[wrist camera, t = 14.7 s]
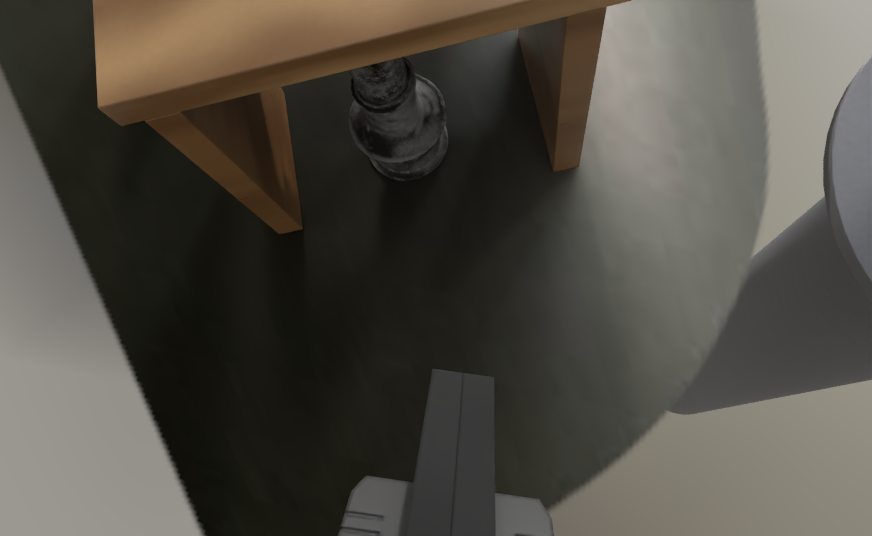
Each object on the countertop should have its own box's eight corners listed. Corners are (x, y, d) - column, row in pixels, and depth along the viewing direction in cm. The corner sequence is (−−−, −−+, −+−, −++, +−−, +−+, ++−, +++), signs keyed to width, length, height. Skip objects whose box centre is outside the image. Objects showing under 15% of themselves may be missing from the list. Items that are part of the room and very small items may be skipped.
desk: (595, 162, 40) (639, -27, 24) (264, 238, 42) (97, 108, 26) (557, 25, 43) (573, -229, 27) (247, 101, 45) (87, -95, 29)
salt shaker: (448, 94, 43) (418, -34, 32) (457, 178, 41) (430, 75, 30) (359, 108, 44) (299, -12, 32) (365, 191, 42) (304, 95, 31)
